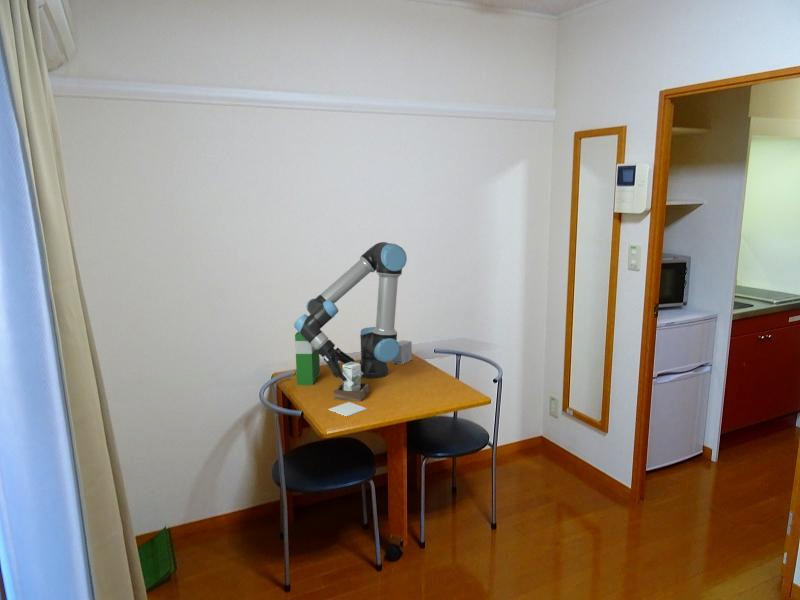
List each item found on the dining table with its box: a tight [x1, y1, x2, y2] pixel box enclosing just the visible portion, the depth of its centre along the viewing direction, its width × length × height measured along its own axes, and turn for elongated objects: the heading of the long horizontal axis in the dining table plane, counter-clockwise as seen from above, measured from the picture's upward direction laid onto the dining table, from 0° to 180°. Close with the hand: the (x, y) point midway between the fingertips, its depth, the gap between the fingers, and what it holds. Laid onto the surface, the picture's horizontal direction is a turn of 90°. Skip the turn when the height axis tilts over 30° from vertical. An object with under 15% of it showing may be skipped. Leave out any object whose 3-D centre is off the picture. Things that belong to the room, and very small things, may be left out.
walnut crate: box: [333, 382, 370, 403], centre depth 249 cm, size 12×12×4 cm
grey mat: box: [328, 401, 368, 418], centre depth 233 cm, size 11×11×1 cm
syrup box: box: [341, 361, 362, 392], centre depth 248 cm, size 6×6×14 cm
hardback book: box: [294, 331, 321, 386], centre depth 270 cm, size 18×7×24 cm, turn 177°
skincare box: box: [391, 340, 413, 365], centre depth 298 cm, size 10×6×10 cm, turn 147°
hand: (356, 380), depth 248 cm, fingers open, 13 cm apart
